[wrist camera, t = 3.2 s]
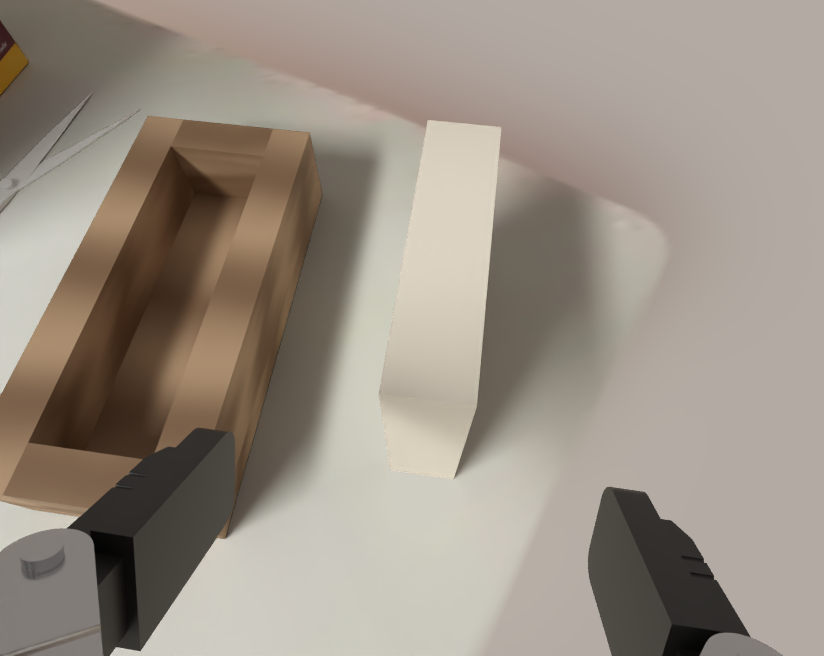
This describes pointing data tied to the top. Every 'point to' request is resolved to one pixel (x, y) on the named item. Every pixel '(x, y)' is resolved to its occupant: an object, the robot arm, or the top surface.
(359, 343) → the top surface
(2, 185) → the scissors
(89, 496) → the walnut box
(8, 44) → the supplement box
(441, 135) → the white rectangular block
